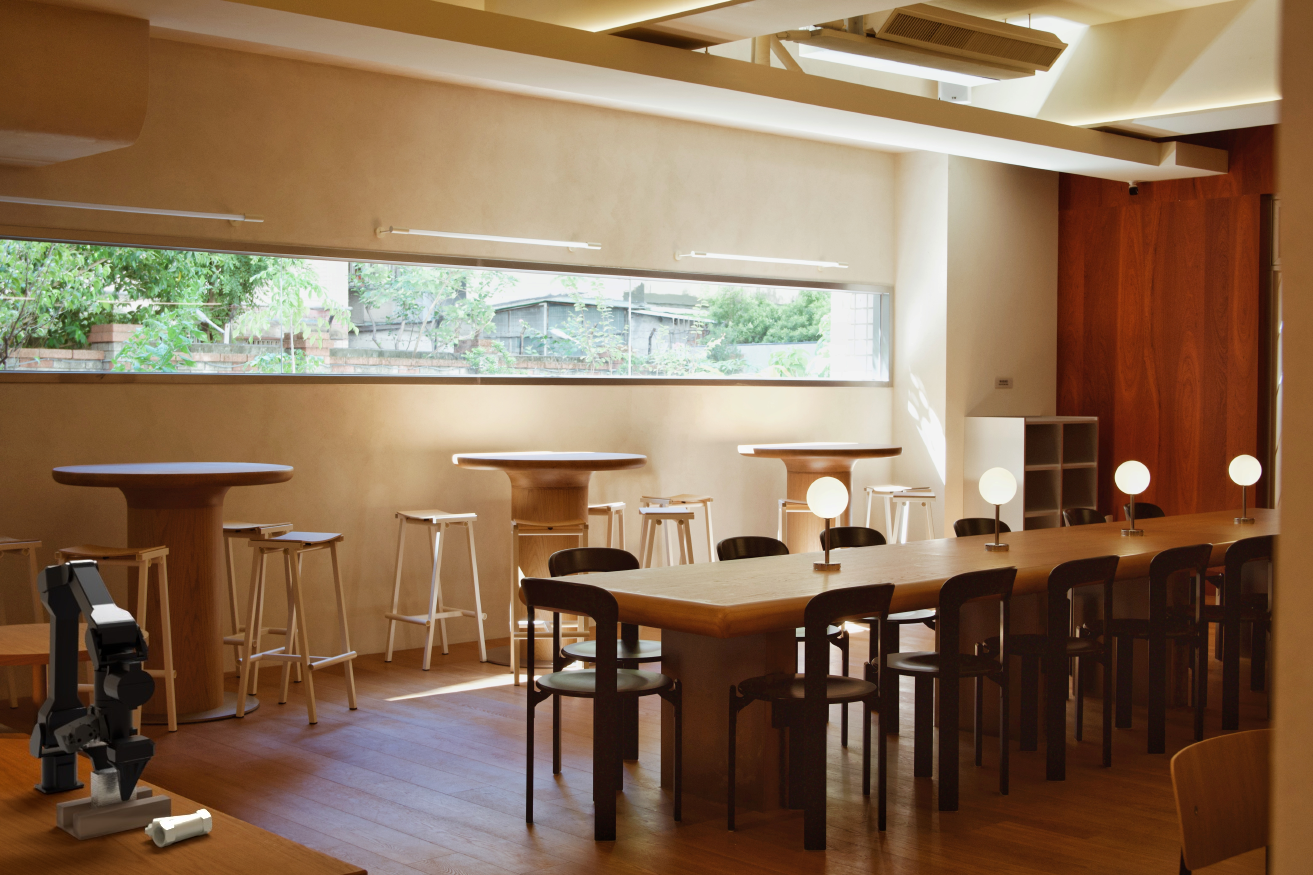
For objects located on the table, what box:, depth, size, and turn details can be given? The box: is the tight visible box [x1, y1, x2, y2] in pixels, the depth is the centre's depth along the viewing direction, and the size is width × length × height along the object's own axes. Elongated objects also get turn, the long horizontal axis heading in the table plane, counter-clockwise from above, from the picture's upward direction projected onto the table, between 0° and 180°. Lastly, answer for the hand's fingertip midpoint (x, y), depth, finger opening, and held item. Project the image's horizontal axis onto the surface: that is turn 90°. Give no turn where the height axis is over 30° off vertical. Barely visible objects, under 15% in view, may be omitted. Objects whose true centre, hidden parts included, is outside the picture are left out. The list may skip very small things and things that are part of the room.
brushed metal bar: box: [90, 767, 138, 810], centre depth 194 cm, size 3×6×8 cm, turn 134°
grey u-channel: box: [56, 785, 172, 841], centre depth 194 cm, size 10×14×4 cm
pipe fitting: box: [144, 808, 213, 848], centre depth 186 cm, size 8×4×7 cm
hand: (114, 794), depth 194 cm, fingers open, 9 cm apart
